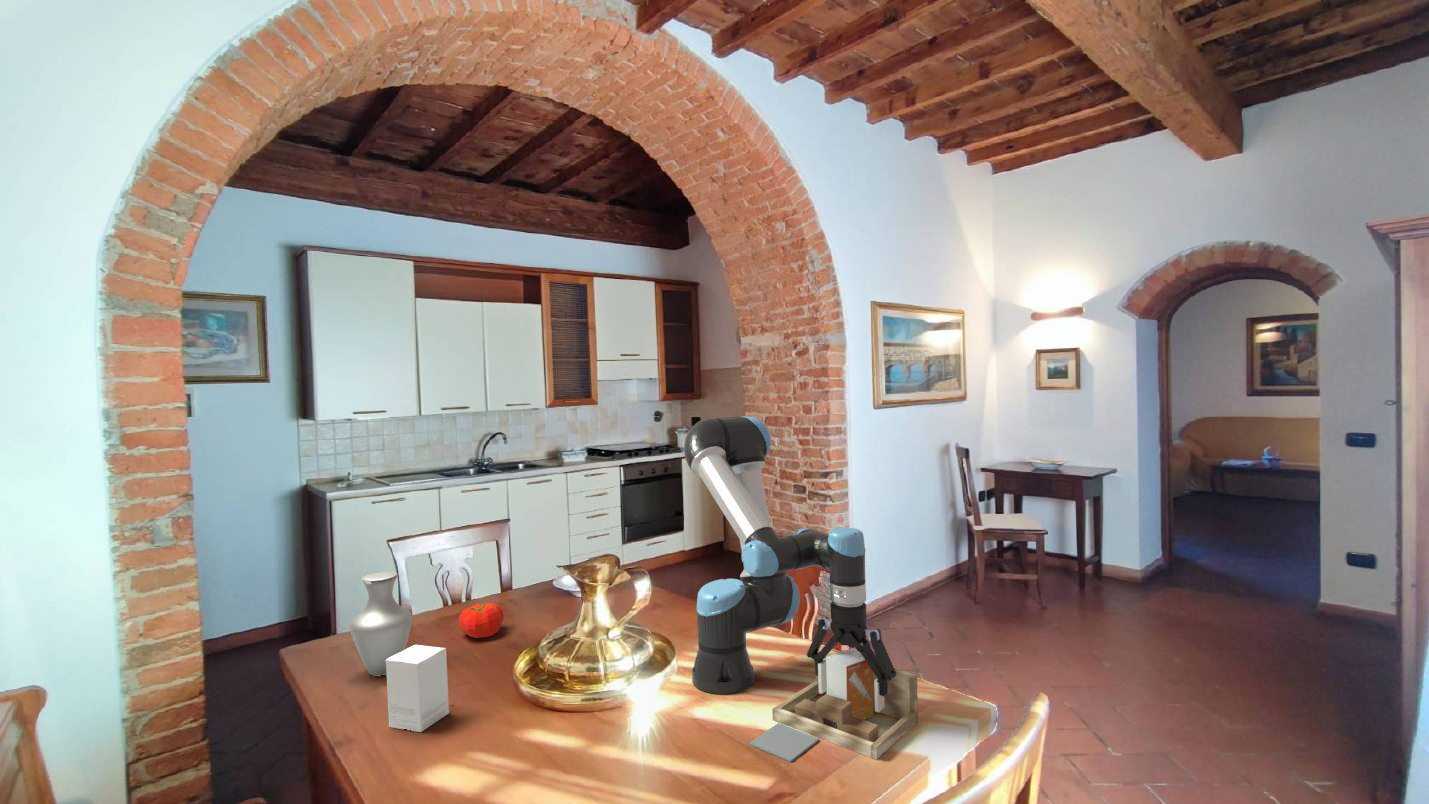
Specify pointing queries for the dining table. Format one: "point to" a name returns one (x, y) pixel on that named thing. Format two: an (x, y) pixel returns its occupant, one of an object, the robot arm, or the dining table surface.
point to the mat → (784, 742)
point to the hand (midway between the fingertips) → (850, 700)
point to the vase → (380, 623)
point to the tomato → (481, 620)
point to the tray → (896, 703)
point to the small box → (851, 681)
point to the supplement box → (417, 687)
